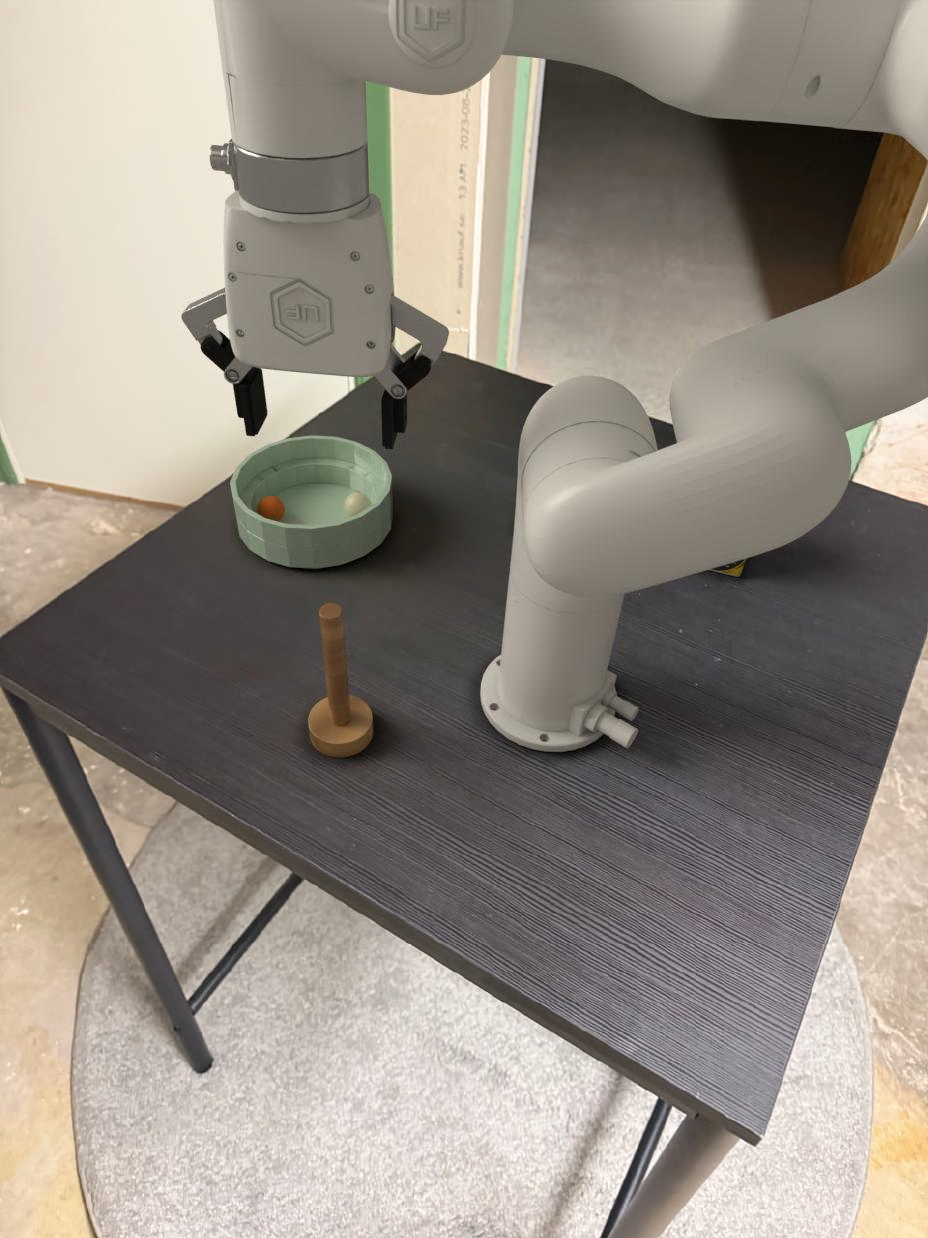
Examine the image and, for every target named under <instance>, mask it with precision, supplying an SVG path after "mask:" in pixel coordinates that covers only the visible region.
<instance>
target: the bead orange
mask: <svg viewBox="0 0 928 1238" xmlns="http://www.w3.org/2000/svg"><path fill="white" fill-rule="evenodd" d="M257 512H258V514H259V515H261V516H262V517H264V518H267V519H270V520H274V521H280V520H281V519H282V517H283V516H284V513H285V507H284V504H283V502H282V501H281V500H280V499H279V498H277V497H274V496H267V497H264V498H263V499H262V500H261V501H260V502H259V504H258V506H257Z"/></svg>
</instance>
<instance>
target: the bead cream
mask: <svg viewBox="0 0 928 1238" xmlns="http://www.w3.org/2000/svg"><path fill="white" fill-rule="evenodd" d="M369 506H371V501H370V499H369V498H368V497H367V496H366V495H365V494H363V493H353V494H351V495H349V496H348V497H347V499H346V501H345V511H346V513H347V514H348V515H349V516H350V517H351V516H354V515H357V514H359V513H361V512H362V511H364V510H365V509H366V508H368V507H369Z"/></svg>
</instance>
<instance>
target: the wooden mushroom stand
mask: <svg viewBox="0 0 928 1238" xmlns="http://www.w3.org/2000/svg"><path fill="white" fill-rule="evenodd" d="M318 616H319V617H318V618H319V626H320V627H319V628H320V637H321V645H322V646H321V647H322V656H323V664H324V665H323V667H324V674H325V684H326V692H327V693H326V694H327V697H324V698H322V699H321V700H319V701H318V702H317V703H315V704H314V706H313V707H312V708H311V710H310V712H309V714H308V717H307V725H308V732H309V738H310V739H309V740H310V742H311V744H312V746H313V747H314V748H315V749H316V750H317V751H318V752H319V753H321V754H323V755H325V756H327V757H332V758H337V759H339V758H348V757H352V756H355V755H358V754H359V753H361V752H362V751H364V749H366V748H367V747H368V746H369V744H370V743H371V741H372V739H373V736H374V717H373V711H372V709H371V707H370V706H369V705H368V703H367V702H366V701H365V700H364V699H362V698H360V697H359V696H356V695H352V694H350V690H349V676H348V665H347V664H348V663H347V650H346V638H345V625H344V624H345V623H344V613H343V607H341V605H339V604H338V603H334V602H328V603H325V604H323V605H321V606H320V607H319V610H318Z"/></svg>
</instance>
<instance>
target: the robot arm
mask: <svg viewBox="0 0 928 1238" xmlns="http://www.w3.org/2000/svg"><path fill="white" fill-rule="evenodd" d="M212 2H213V7H214V8H213V10H214V17H215V24H216V31H217V39H218V40H217V41H218V46H219V47H218V48H219V53H220V62H221V70H222V77H223V84H224V92H225V99H226V107H227V114H228V122H229V128H230V129H229V130H230V135H231V138H230V139H229V141H228V142H224V143H223V145H218V144H211V146H210V148H209V162H210V164H209V165H210V167H211V169H212V170H213V171H217V172H224V173H225V174H226V175H230V177H231V179H232V183H233V188H234V191H233V192H232V194H229V195H228V197H227V198H226V199H225V202H224V210H223V211H224V213H223V273H224V287H223V288H221V289H219V290H216V291H214V292H212V293H209V294H207V295H205V296H204V297H201V298H199V299H197V300H194V301H192V302H190V303H189V304H188V305H187V306H186V307H185V309H184V310H183V312H182V313H181V316H180V317H181V321H182V322H183V324H184V325H185V327H186V328H187V330H188V331H189V332H190V334H191V335H192V337H193V339H195V341H196V342H198V344H199V345H200V351H201V353H202V354H203V355H204V356H205V357H206V358H208V359H209V360H210V362H212V363H213V364H214V365H215V366H217V368H219V369H220V370H221V371H222V372H223V377H224V380H226V381H227V383H230V384H232V389H233V395H234V400H235V401H234V402H235V407H236V414H237V417H238V418H239V419H243V424H244V430H245V435H246V436H247V437H255V436H258V435H259V433H260V431H261V429H262V427H263V425H264V423H265V421H266V419H267V418H268V404H267V398H266V390H265V381H264V375H263V374H264V373H263V370H271V371H279V372H280V371H281V372H291V373H301V374H311V375H323V376H324V375H325V376H333V377H334V376H335V377H348V378H369V377H374V378H375V380H377V382H378V383H379V384H380V385H381V386H382V387H383V389H384V391H383V393H382V396H381V399H380V405H381V406H380V411H381V413H380V415H381V446H382V448H383V447H384V449H385V450H394V447H395V443H396V440H397V436H398V434H405V433H406V430H407V424H408V392H409V391H410V390H411V389H412V388H414V387H415V386H416V385H417V384H418V383H419V382H421V381H422V380H424V378H425V377H427V376H428V375H430V372H431V370H432V368H433V366H434V365H435V363H436V362H437V360H438V359H439V357H440V356H441V353H442V352H443V350H444V349H445V347H446V346H447V343H448V339H449V335H450V330H449V328H448V327H447V325H445V324H443V323H442V322H439V321H438V320H436V319H434V318H432V316H430V315H428V314H427V313H424V312H423V311H421V310H419V309H417V308H416V307H414V306H413V305H410V304H409V303H408V302H406V301H405V300H402V299H401V298H399V297H397V296H396V295H395V289H394V278H393V269H392V260H391V251H390V244H389V238H388V232H387V227H386V221H385V217H384V211H383V207H382V204H381V199H380V198H379V196H378V195H377V194H375V193H373V192H370V173H369V172H370V168H369V139H368V112H367V111H368V109H367V108H368V107H367V106H368V105H367V83H372V84H375V85H380V86H384V87H387V88H392V89H396V90H399V91H403V92H409V93H414V94H419V95H425V96H445V95H451V94H456V93H460V92H464V91H465V90H467V89H470V88H471V87H473V86H474V85H476V84H477V83H479V82H481V81H482V80H483V79H484V78H485V77H486V76H487V75H488V74H489V73H490V72H491V71H492V70H493V68H495V66H496V65H497V63H498V61H499V60H500V58H501V57H502V56H512V57H513V56H514V57H523V58H531V59H542V60H549V61H557V62H562V63H567V64H568V63H569V64H574V65H577V66H578V65H579V66H582V67H586V68H590V69H594V70H597V71H599V72H600V71H601V72H603V73H606V74H609V75H612V76H615V77H617V78H620V79H622V80H623V81H626V82H628V83H629V84H631V85H633V86H635V87H637V88H638V89H640V90H642V91H643V92H645V93H646V94H648V95H650V96H651V97H653V98H655V99H657V101H660V102H662V103H664V104H666V105H669V106H671V107H674V108H677V109H680V110H682V111H686V112H688V113H691V114H694V115H697V116H702V117H705V118H714V119H727V120H728V119H729V120H741V121H752V122H753V121H754V122H768V123H770V122H771V123H780V124H781V123H782V124H790V125H791V124H793V125H802V126H803V125H804V126H815V127H827V128H834V129H842V130H853V131H865V132H877V133H884V134H885V133H886V134H891V135H895V136H899V137H902V138H903V139H905V141H907V142H908V143H909V144H910V145H911V146H912V147H913V148H914V149H915V150H916V151H918V153H919V154H921V155H922V156H923V157H924V158H925V159H926V161H928V0H213V1H212ZM223 316H226V321H227V328H228V336H229V337H227V335H226V334H225V333H223V332H222V331H221V330H219V329H218V328H217V325H216V323H215V321H214V320H217V319H219V318H221V317H223ZM396 328H397V329H398V330H401V331H402V332H404V333H405V334H407V335H409V336H411V337H412V338H414V339H416V340H418V341H419V342H420V347H419V348H418V350H416V351H415V353H413V354H412V355H411V356H409V358H407V359H405V358H404V357H403V355H401V354H400V352H399V351H398V350H397V348H396V347H395V346H394V345H393V343H394V340H395V337H396ZM927 398H928V214H926V216H925V218H924V220H923V221H922V223H921V225H920V227H919V228H918V230H917V231H916V232H915V234H914V235H913V237H912V238H911V239H910V240H909V242H908V243H907V244H906V246H905V247H904V248H903V249H902V250H901V251H900V253H899V254H898V255H897V256H896V257H895V258H894V259H893V260H892V261H890V263H888V264H887V265H886V266H885V267H884V268H883V269H882V270H879V272H877V273H876V274H875V275H873V276H871V277H870V278H868V279H866V280H864V281H861V283H859V284H856V285H855V286H852V287H850V288H847V289H845V290H843V291H841V292H839V293H837V294H834V295H832V296H830V297H828V298H825V299H822V300H820V301H817V302H815V303H812V304H809V305H807V306H804V307H802V308H799V309H796V310H794V311H791V312H789V313H786V314H783V315H781V316H778V317H775V318H772V319H770V320H767V321H764V322H761V323H759V324H756V325H754V326H751V327H748V328H746V329H743V330H741V331H738V332H735V333H732V334H730V335H727V336H725V337H721V338H720V339H717V340H715V341H713V342H710V343H708V344H706V345H704V346H702V347H700V348H699V349H697V350H696V351H694V352H692V354H690V355H689V356H687V357H686V359H684V360H683V361H682V363H681V364H680V366H678V368H677V370H676V371H675V373H674V375H673V378H672V380H671V383H670V388H669V412H670V418H671V422H672V427H673V432H674V436H675V440H676V443H674V444H671V445H669V446H666V447H664V448H663V447H662V448H660V449H658V444H657V439H656V436H655V431H654V428H653V425H652V423H651V420H650V417H649V416H648V413H647V411H646V409H645V408H644V407H643V404H642V403H641V401H639V399H638V397H637V396H636V395H635V394H633V393H632V391H631V390H630V389H628V388H626V386H624V385H623V384H621V383H619V382H617V381H615V380H614V379H611V378H608V377H604V376H599V375H580V376H579V375H578V376H574V377H571V378H567V379H565V380H563V381H560V382H558V383H557V384H555V385H554V386H552V387H551V388H549V389H548V390H547V391H545V393H543V394H542V396H540V397H539V398H538V400H537V401H536V402H535V403H534V405H532V408H531V409H530V411H529V413H528V415H527V417H526V419H525V422H524V425H523V428H522V430H521V435H520V440H519V445H518V446H519V447H518V458H517V460H518V461H517V482H516V497H515V510H514V511H515V512H514V524H513V534H512V535H513V536H512V545H511V557H510V564H509V565H510V566H509V575H508V585H507V593H506V605H505V612H504V624H503V634H502V643H501V651H500V652H501V653H500V654H499V655H498V656H496V657H495V658H494V659H493V660H492V661H491V662H490V664H488V666H487V668H486V669H485V671H484V673H483V675H482V679H481V681H480V690H479V691H480V692H479V695H480V703H481V708H482V711H483V713H484V715H485V716H486V718H487V720H488V721H489V723H490V724H491V725H492V726H493V728H494V729H495V730H496V731H497V732H499V733H500V734H501V735H502V736H503V737H505V738H506V739H507V740H509V741H511V742H514V743H516V744H517V745H519V746H521V747H522V746H523V747H524V748H528V749H530V750H535V751H540V752H545V753H546V752H548V753H549V752H550V753H562V752H568V751H569V752H571V751H575V750H578V749H581V748H585V747H586V746H589V745H590V744H593V743H594V742H596V741H597V740H599V738H601V737H602V736H603V735H606V736H607V737H608V738H609V739H610V740H612V741H613V742H615V743H617V744H619V745H620V746H622V747H623V748H625V749H629V748H630V747H631V745H632V744H633V743H634V741H635V740H636V738H637V735H638V733H639V729H638V728H637V727H635V726H633V725H632V724H630V723H628V722H626V721H625V720H623V719H621V718H618V717H616V716H615V715H616V713H617V714H618V715H619V716H622V717H623V718H625V719H627V720H628V721H630V722H633V720H634V719H636V716H637V715H638V713H639V710H640V709H639V708H640V707H638V706H636V705H634V704H633V703H631V702H630V701H627V700H624V699H622V698H621V697H619V696H618V692H617V690H616V686H615V684H616V680H617V677H618V675H617V674H616V673H614V672H612V671H610V670H608V668H609V665H610V664H609V663H610V659H611V655H612V651H613V648H614V643H615V639H616V634H617V629H618V625H619V621H620V617H621V612H622V607H623V603H624V599H625V594H628V593H632V592H636V591H640V590H643V589H646V588H651V587H654V586H659V585H661V584H665V583H668V582H671V581H675V580H678V579H682V578H685V577H688V576H691V575H692V576H693V575H695V574H699V573H702V572H705V571H710V570H709V569H712V568H716V567H719V566H722V565H726V564H729V563H733V562H736V561H739V560H743V559H746V560H747V559H749V558H752V557H756V556H758V555H761V554H765V553H767V552H770V551H774V550H775V549H779V548H781V547H784V546H787V545H788V544H789V543H792V542H794V541H796V540H797V539H799V538H801V537H802V536H804V535H806V534H807V533H808V532H810V531H811V530H813V529H814V528H816V526H818V525H820V523H822V522H823V521H824V520H825V519H826V518H827V517H828V516H829V515H830V514H831V513H832V512H833V510H834V509H835V508H836V507H837V506H838V504H839V503H840V501H841V500H842V498H843V496H844V495H845V493H846V491H847V487H848V485H849V481H850V477H851V473H852V453H851V447H850V443H849V439H848V436H847V434H846V432H850V431H852V430H854V429H857V428H859V427H862V426H864V425H867V424H870V423H872V422H875V421H877V420H880V419H883V418H885V417H888V416H890V415H892V414H896V413H898V412H901V411H903V410H905V409H908V408H909V407H912V406H915V405H916V404H919V403H920V402H923V401H924V400H926V399H927Z"/></svg>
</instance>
